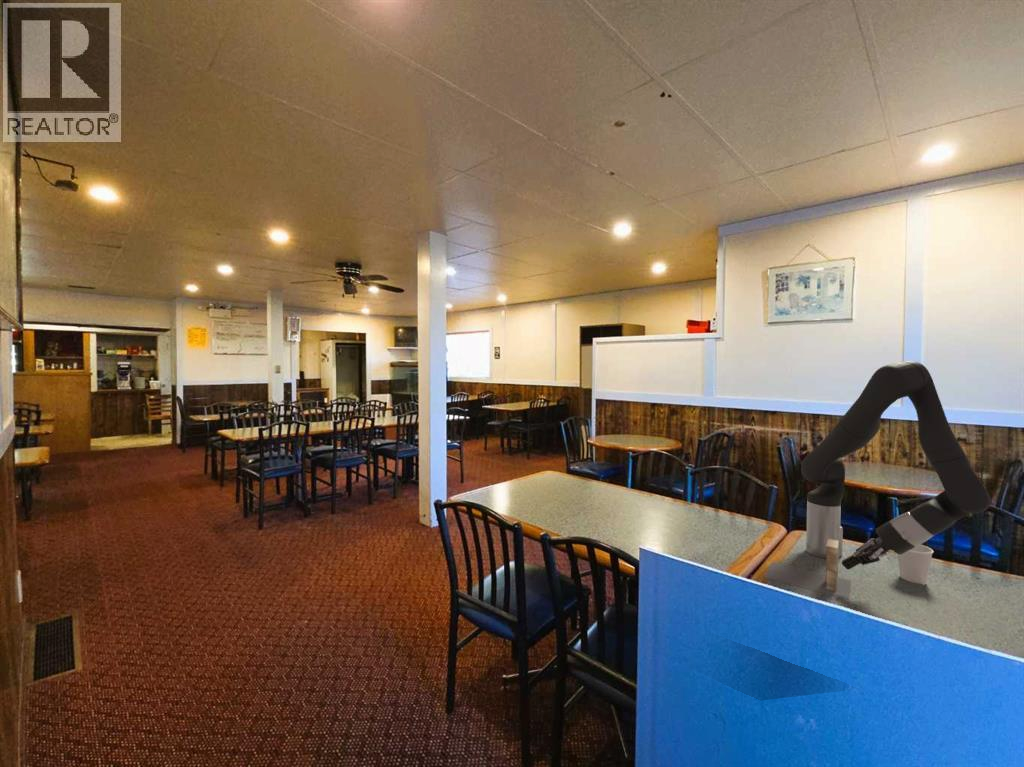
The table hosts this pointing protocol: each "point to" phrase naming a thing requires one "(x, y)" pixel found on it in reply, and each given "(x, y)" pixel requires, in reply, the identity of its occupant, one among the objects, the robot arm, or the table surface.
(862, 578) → the table surface
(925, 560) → the dixie cup
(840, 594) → the rubber mat
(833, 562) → the maple block
